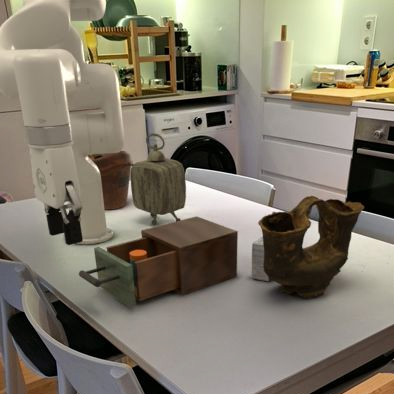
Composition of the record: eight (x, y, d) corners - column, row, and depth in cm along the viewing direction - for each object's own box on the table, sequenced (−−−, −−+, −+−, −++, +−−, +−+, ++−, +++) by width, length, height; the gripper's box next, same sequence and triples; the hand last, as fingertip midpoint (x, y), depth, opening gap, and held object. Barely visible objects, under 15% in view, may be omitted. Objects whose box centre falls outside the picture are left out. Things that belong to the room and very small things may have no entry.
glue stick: (129, 283, 111) (126, 252, 107) (143, 278, 113) (140, 248, 109) (138, 288, 108) (135, 257, 105) (152, 283, 110) (149, 253, 107)
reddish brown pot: (87, 197, 180) (80, 143, 171) (142, 198, 177) (138, 143, 168) (69, 211, 165) (60, 153, 156) (129, 213, 162) (124, 153, 153)
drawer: (106, 316, 100) (100, 274, 96) (75, 293, 109) (68, 254, 105) (188, 288, 111) (187, 248, 106) (153, 269, 120) (151, 232, 115)
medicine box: (268, 282, 114) (270, 245, 110) (250, 278, 117) (251, 242, 112) (282, 270, 120) (285, 234, 116) (265, 267, 122) (267, 231, 118)
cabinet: (181, 295, 110) (180, 247, 104) (144, 275, 120) (141, 230, 114) (236, 276, 118) (237, 231, 112) (197, 258, 128) (196, 216, 122)
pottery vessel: (329, 267, 121) (339, 182, 110) (364, 283, 113) (379, 192, 103) (244, 293, 110) (247, 201, 99) (277, 312, 102) (284, 214, 91)
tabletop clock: (187, 223, 152) (184, 133, 139) (166, 231, 146) (161, 138, 133) (152, 214, 160) (146, 129, 147) (131, 222, 154) (123, 133, 141)
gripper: (9, 132, 90) (29, 231, 100) (50, 145, 78) (68, 255, 88) (49, 128, 94) (64, 223, 103) (93, 139, 82) (106, 245, 92)
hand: (65, 237), depth 96 cm, fingers open, 6 cm apart
